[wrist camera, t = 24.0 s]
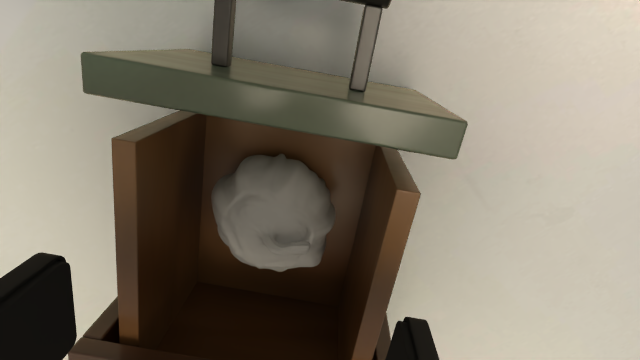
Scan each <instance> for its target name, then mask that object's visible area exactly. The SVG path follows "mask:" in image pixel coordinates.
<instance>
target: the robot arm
mask: <svg viewBox="0 0 640 360" xmlns="http://www.w3.org/2000/svg"><path fill="white" fill-rule="evenodd" d="M76 337H77V334H76V323H75V312H74V302H73V291H72V281H71V270H70V265H69V263H67V262H66V260H65V258H64V257H62V256H58V255H53V254H47V253H37V254H35V255H34V256H32V257H31V258H29V259H28V260H26V261H25V262H23V263H22V264H21V265H19V266H18V267H16V268H15V269H13V270H12V271H10V272H9V273H7V274H6V275H5V276H3V277H2V278H0V360H62V359H63V358H64V357H65V356H66V355H67V354H68V352H69V351H70V350H71V349H72V347H73V346H74V344H75V341H76ZM385 360H439V357H438V354H437V351H436V348H435V344H434V341H433V338H432V335H431V331H430V328H429V325H428V323H427V321H426V320H422V319H416V318H411V317H405V318H404V321H403V322H402V321H398V322H397V324H396V327H395V330H394V333H393V337H392V340H391V343H390V346H389V349H388V353H387V356H386V359H385Z"/></svg>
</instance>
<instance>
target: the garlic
mask: <svg viewBox="0 0 640 360" xmlns="http://www.w3.org/2000/svg"><path fill="white" fill-rule="evenodd" d="M211 200H212V208H213V213H214V216H215V220H216V224H217V225H218V226H217V229H218V233H219V236H220V238H221V239H222V241H223V242H224V243H225V244H226V245H227V246H229V248H230V251H231V253H232V254H233V256H234V257H236V258H237V259H238V260H239V261H241V262H243V263H245V264H248V265H250V266H256V267H257V268H259V269H263V268H266V269H272V270H275V271H278V272H282V271H285V270H287V269H290V268H296V267H314V266H317V265H318V264H319V263H320V262H321V259H322V255H323V253H324V251H325V247H326V234H327V233H328V232H330V230H331V229H332V227H333V225H334V223H335V217H336V213H335V208H334V206H333V204H332V203H331V201H330V191H329V190H328V188H327V187H326V185H325V181H324V180H323V179H322V178H318V176H317V174H316V173H315V172H313V171H310V170H309V169H308V167H307V166H306V165H305V164H304V163H302V162H301V161H299V160H292V159H286V157H285V155H284V154H279V155H278V156H276V157H271V156H265V155H254V156H249V157H247V158H245V159H244V160H243V161H242V162H241V163H240V165H239V167H238V169H237V170H236V171H235V173H232V174H228V175H226V176H224V177H222V178H221V179H220V180H219V181H218V182H217V183H216V184H215V186H214V188H213V190H212V195H211Z"/></svg>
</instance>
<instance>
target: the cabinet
mask: <svg viewBox="0 0 640 360" xmlns="http://www.w3.org/2000/svg"><path fill="white" fill-rule="evenodd" d="M390 343H391V338H390V332H389V326H388V320H387V315H386V314H385V317H384V321H383V324H382V328H381V331H380V334H379V338H378V341H377V345H376V348H375V351H374V355H373V358H372V360H385V359H386V356H387V353H388V349H389V346H390ZM68 358H69V360H211V359H205V358H199V357H194V356H188V355H182V354H176V353H171V352H165V351H159V350H153V349H148V348H142V347H136V346H131V345H125V344H120V340H119V315H118V296H117V298H116V299H115V300H114V301H113V302H112V303H111V304H110V305H109V307H108V308H107V309H106V310H105V311H104V312H103V313H102V314H101V316H100V317H99V318H98V319H97V320H96V321H95V322H94V323H93V325H92V326H91V327H90V328H89V329H88V330H87V331H86V332H85V334H84V335H83V337H82V338H80V339H79V340H78V341H77V342H76V344H75V345H74V346H73V347H72V349H71V350H70V351H69V352H68Z"/></svg>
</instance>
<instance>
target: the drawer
mask: <svg viewBox="0 0 640 360" xmlns="http://www.w3.org/2000/svg"><path fill="white" fill-rule="evenodd" d="M341 1H346V2H352V3H357V4H363V5H365V7H364V10H363V15H362V20H361V26H360V31H359V36H358V41H357V46H356V51H355V57H354V62H353V67H352V72H351V77H350V78H346V77H340V76H335V75H329V74H324V73H318V72H313V71H307V70H302V69H296V68H291V67H285V66H280V65H274V64H269V63H263V62H257V61H252V60H246V59H241V58H235V57H232V49H233V36H234V23H235V10H236V0H215V4H214V21H213V38H212V53H208V52H202V51H197V50H191V49H174V50H138V51H103V52H83V53H81V65H82V80H83V91H84V93H87V94H91V95H97V96H102V97H108V98H114V99H119V100H125V101H130V102H136V103H141V104H147V105H153V106H158V107H164V108H169V109H175V110H180V111H178V112H175V113H173V114H170V115H168V116H165V117H163V118H161V119H158V120H156V121H153V122H151V123H148V124H146V125H143V126H141V127H138V128H136V129H134V130H131V131H129V132H126V133H124V134H121V135H119V136H116V137H114V138H112V163H113V189H114V214H115V239H116V264H117V289H118V315H119V340H120V344H125V345H131V346H136V347H142V348H148V349H153V350H159V351H165V352H171V353H176V354H182V355H188V356H194V357H199V358H205V359H211V360H372V358H373V355H374V351H375V348H376V345H377V341H378V338H379V334H380V331H381V328H382V324H383V321H384V317H385V314H386V311H387V307H388V304H389V300H390V297H391V294H392V290H393V287H394V283H395V280H396V277H397V273H398V270H399V266H400V263H401V259H402V256H403V253H404V249H405V246H406V242H407V239H408V236H409V232H410V229H411V225H412V222H413V219H414V215H415V212H416V208H417V205H418V202H419V198H420V195H421V193H420V191H419V190H418V188H417V186H416V184H415V182H414V180H413V178H412V176H411V175H410V173H409V171H408V169H407V167H406V165H405V163H404V161H403V160H402V158H401V156H400V154H399V152H398V150H403V151H409V152H414V153H420V154H426V155H431V156H437V157H442V158H448V159H456V158H457V156H458V153H459V150H460V147H461V143H462V140H463V137H464V134H465V131H466V128H467V125H468V124H467V122H466V121H465V120H463V119H462V118H460V117H458V116H457V115H455V114H454V113H452V112H450V111H449V110H447V109H445V108H444V107H442V106H440V105H439V104H437V103H436V102H434V101H432V100H431V99H429V98H427V97H426V96H424V95H423V94H421V93H419V92H418V91H416V90H412V89H407V88H401V87H396V86H390V85H385V84H379V83H374V82H368V76H369V72H370V67H371V62H372V57H373V53H374V48H375V43H376V38H377V34H378V29H379V24H380V19H381V15H382V8H384V9H387V8H388V7H389V5H390V3H391V0H341ZM397 149H398V150H397ZM279 154H284V155H285V157H286V159H292V160H299V161H301V162H302V163H304V164H305V165H306V166H307V167H308V169H309V170H310V171H313V172H315V173H316V174H317V176H318V178H322V179H323V180H324V181H325V185H326V187H327V188H328V190H329V191H330V201H331V203H332V204H333V206H334V208H335V213H336V217H335V223H334V225H333V227H332V229H331V230H330V232H328V233H327V234H326V247H325V251H324V253H323V255H322V259H321V262H320V263H319V264H318V265H317V266H314V267H296V268H290V269H287V270H285V271H282V272H278V271H275V270H272V269H266V268H263V269H259V268H257V267H256V266H250V265H248V264H245V263H243V262H241V261H239V260H238V259H237V258H236V257H234V256H233V254H232V253H231V251H230V248H229V246H227V245H226V244H225V243H224V242H223V241H222V239H221V238H220V236H219V233H218V229H217V226H218V225H217V224H216V220H215V216H214V213H213V208H212V200H211V195H212V190H213V188H214V186H215V184H216V183H217V182H218V181H219V180H220V179H221V178H222V177H224V176H226V175H228V174H232V173H235V171H236V170H237V169H238V167H239V165H240V163H241V162H242V161H243V160H244V159H245V158H247V157H249V156H254V155H265V156H271V157H276V156H278V155H279Z"/></svg>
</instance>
